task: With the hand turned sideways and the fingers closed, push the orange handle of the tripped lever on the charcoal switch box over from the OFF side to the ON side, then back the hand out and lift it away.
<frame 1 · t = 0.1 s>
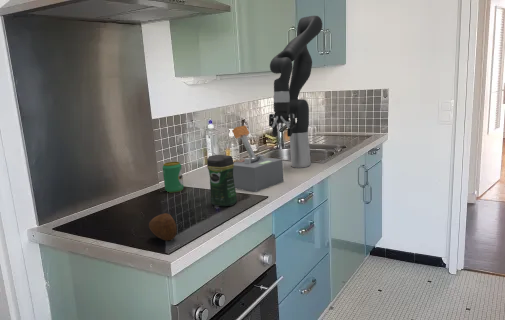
hand: (282, 136, 200), 17 cm above the countertop, tool pointing down, fingers open, 8 cm apart
switch box: (256, 184, 183), on the countertop
breaker lever: (247, 144, 182), point 17 cm above the countertop, hinge at 30.0°
potato: (165, 239, 127), on the countertop
beverage can: (174, 190, 183), on the countertop
coffee jar: (224, 204, 158), on the countertop
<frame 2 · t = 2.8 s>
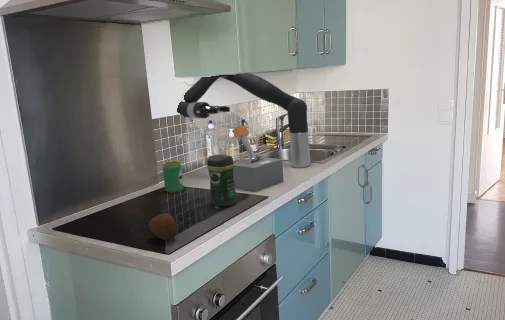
hand: (223, 110, 188), 32 cm above the countertop, tool horizontal, fingers open, 7 cm apart
nothing on the countertop moved.
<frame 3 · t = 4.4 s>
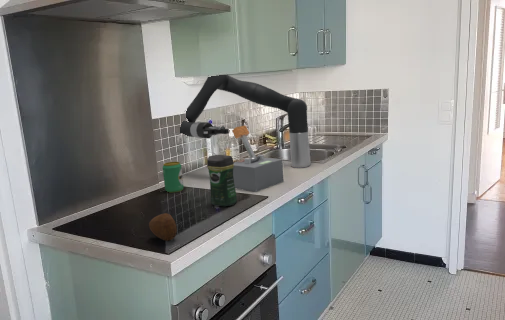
hand: (227, 131, 188), 23 cm above the countertop, tool horizontal, fingers closed
nothing on the countertop moved.
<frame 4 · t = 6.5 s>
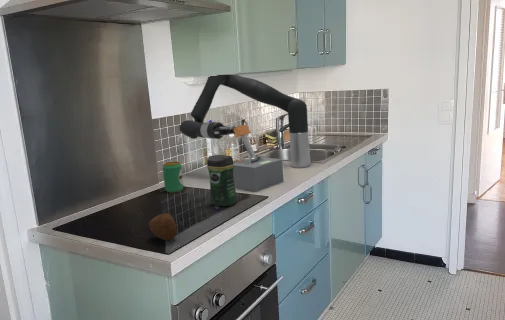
hand: (238, 131, 184), 23 cm above the countertop, tool horizontal, fingers closed
breaker lever: (247, 144, 182), point 18 cm above the countertop, hinge at 26.6°, touching gripper
everything else where it was.
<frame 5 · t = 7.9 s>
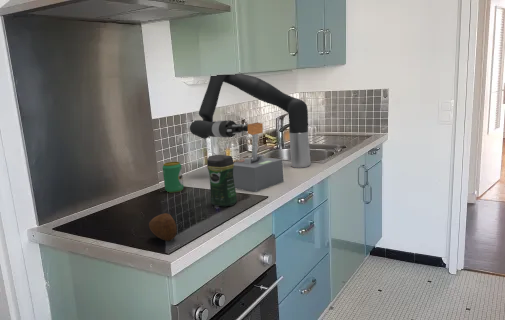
hand: (252, 128, 178), 24 cm above the countertop, tool horizontal, fingers closed
breaker lever: (254, 142, 179), point 18 cm above the countertop, hinge at -7.5°, touching gripper
everything else where it was.
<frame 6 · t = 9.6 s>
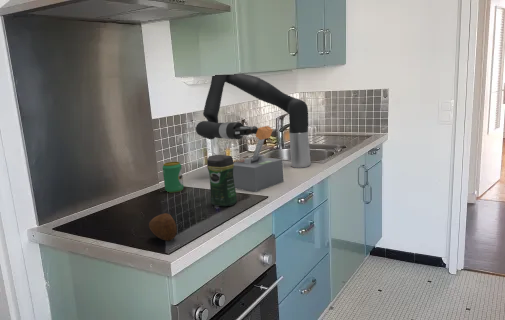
hand: (260, 131, 175), 23 cm above the countertop, tool horizontal, fingers closed
breaker lever: (259, 145, 177), point 17 cm above the countertop, hinge at -29.3°, touching gripper
everything else where it was.
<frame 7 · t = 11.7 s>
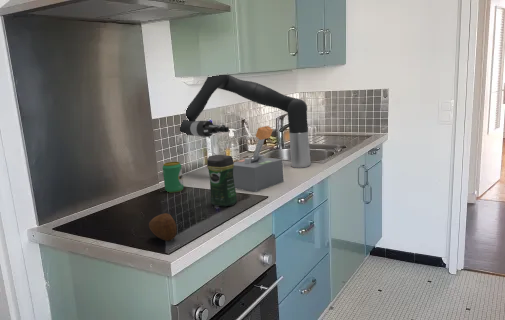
hand: (227, 129, 189), 23 cm above the countertop, tool horizontal, fingers closed
breaker lever: (259, 145, 177), point 17 cm above the countertop, hinge at -29.4°
everything else where it was.
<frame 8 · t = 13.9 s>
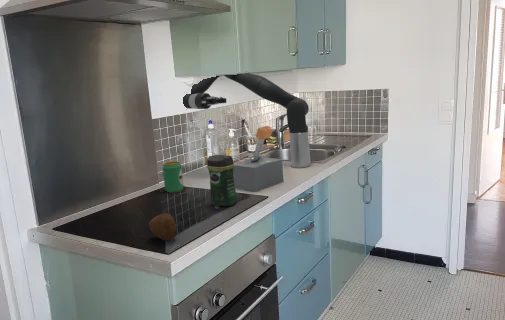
hand: (225, 100, 191), 36 cm above the countertop, tool horizontal, fingers closed
nothing on the countertop moved.
at the end: breaker lever at -29° (first picture: +30°) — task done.
